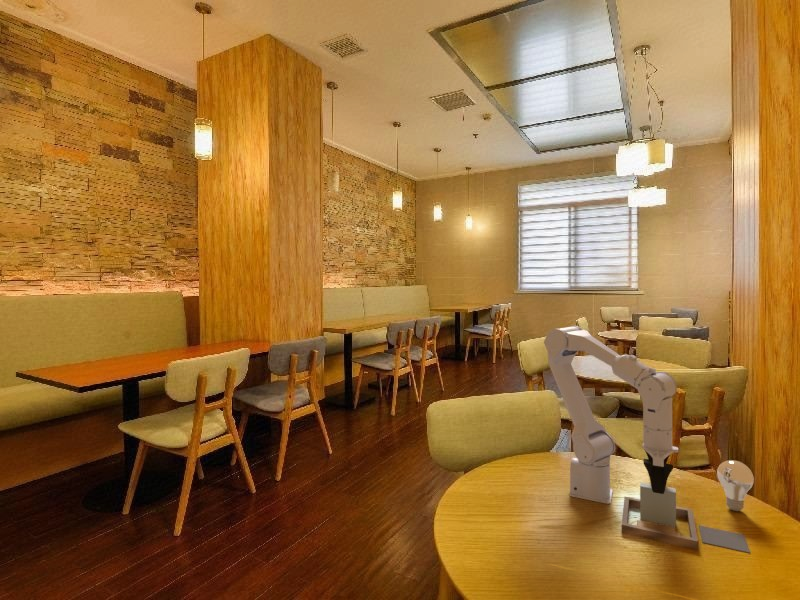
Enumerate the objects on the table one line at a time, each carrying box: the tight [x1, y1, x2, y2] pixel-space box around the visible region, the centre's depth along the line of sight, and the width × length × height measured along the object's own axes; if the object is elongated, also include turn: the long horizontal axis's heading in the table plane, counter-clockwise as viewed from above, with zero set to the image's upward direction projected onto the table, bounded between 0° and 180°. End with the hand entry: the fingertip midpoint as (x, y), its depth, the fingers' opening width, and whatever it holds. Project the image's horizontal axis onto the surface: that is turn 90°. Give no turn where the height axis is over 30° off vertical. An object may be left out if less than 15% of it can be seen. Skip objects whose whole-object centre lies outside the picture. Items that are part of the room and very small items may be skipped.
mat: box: [698, 525, 751, 554], centre depth 94 cm, size 8×7×1 cm
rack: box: [621, 496, 699, 551], centre depth 100 cm, size 14×14×2 cm
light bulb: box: [716, 459, 755, 513], centre depth 105 cm, size 7×7×12 cm
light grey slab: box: [639, 482, 677, 528], centre depth 101 cm, size 7×2×8 cm, turn 61°
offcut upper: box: [636, 520, 677, 534], centre depth 97 cm, size 7×3×1 cm, turn 65°
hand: (657, 485), depth 101 cm, fingers open, 7 cm apart
